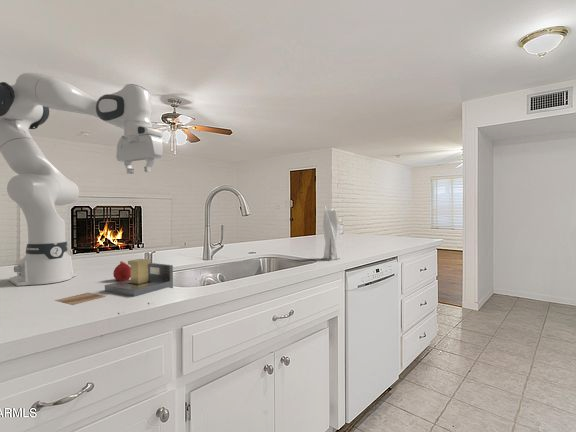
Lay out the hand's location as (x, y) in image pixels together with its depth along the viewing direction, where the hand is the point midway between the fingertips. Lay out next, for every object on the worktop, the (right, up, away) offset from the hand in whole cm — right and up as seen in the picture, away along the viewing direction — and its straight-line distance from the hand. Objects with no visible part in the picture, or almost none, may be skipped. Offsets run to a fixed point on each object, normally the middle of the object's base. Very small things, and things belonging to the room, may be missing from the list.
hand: (138, 172), depth 109 cm
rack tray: (+5, -39, -10) cm, 41 cm away
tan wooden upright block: (+5, -39, -10) cm, 41 cm away
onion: (-7, -39, +2) cm, 40 cm away
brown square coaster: (-7, -40, -20) cm, 45 cm away
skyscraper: (+74, -38, +54) cm, 99 cm away
